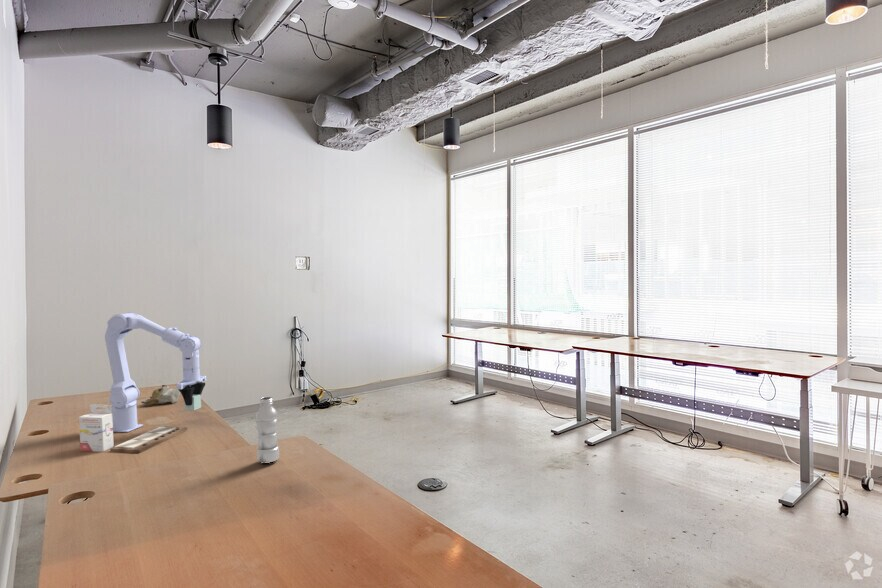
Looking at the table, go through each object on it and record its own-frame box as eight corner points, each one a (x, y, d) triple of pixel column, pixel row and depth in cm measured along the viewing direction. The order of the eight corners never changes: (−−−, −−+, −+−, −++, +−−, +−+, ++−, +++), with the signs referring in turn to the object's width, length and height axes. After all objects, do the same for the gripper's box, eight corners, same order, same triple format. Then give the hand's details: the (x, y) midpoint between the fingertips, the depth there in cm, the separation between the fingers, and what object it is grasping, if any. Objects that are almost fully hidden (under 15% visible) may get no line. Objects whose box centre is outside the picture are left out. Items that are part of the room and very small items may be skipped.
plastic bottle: (284, 459, 153) (282, 396, 152) (268, 468, 147) (266, 402, 146) (268, 456, 156) (266, 394, 155) (252, 464, 150) (250, 400, 149)
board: (110, 451, 162) (110, 447, 162) (160, 429, 185) (160, 425, 185) (139, 453, 160) (139, 449, 160) (187, 430, 183) (186, 426, 183)
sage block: (184, 409, 186) (184, 396, 185) (191, 407, 190) (191, 394, 189) (194, 410, 185) (193, 397, 185) (201, 407, 189) (200, 394, 189)
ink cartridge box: (79, 451, 163) (77, 408, 162) (91, 446, 168) (89, 403, 167) (103, 452, 162) (101, 408, 161) (114, 446, 167) (112, 404, 166)
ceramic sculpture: (175, 385, 217) (138, 389, 215) (177, 405, 218) (141, 409, 215) (183, 380, 228) (149, 384, 225) (185, 399, 228) (151, 402, 226)
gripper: (187, 372, 179) (189, 409, 179) (212, 364, 193) (214, 398, 194) (170, 372, 180) (172, 408, 180) (196, 364, 194) (197, 398, 195)
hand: (192, 403), depth 187 cm, fingers closed on sage block, 4 cm apart
